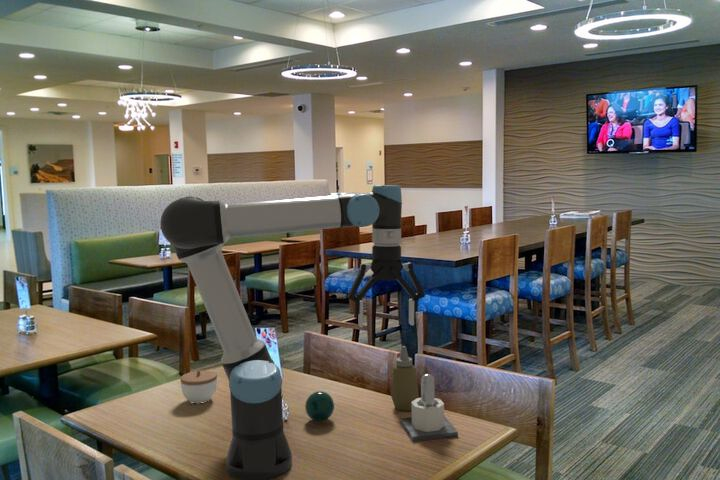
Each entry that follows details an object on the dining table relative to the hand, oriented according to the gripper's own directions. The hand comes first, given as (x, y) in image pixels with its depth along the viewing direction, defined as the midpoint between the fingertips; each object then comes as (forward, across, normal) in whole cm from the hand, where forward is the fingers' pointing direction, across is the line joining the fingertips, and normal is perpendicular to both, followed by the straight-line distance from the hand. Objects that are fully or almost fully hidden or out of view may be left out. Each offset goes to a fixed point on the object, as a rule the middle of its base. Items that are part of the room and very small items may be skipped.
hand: (386, 325), depth 156 cm
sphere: (+28, -17, +8) cm, 34 cm away
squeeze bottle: (+28, +8, +12) cm, 31 cm away
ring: (+26, +10, -4) cm, 28 cm away
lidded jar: (+29, -51, +31) cm, 67 cm away
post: (+27, +11, -4) cm, 29 cm away
